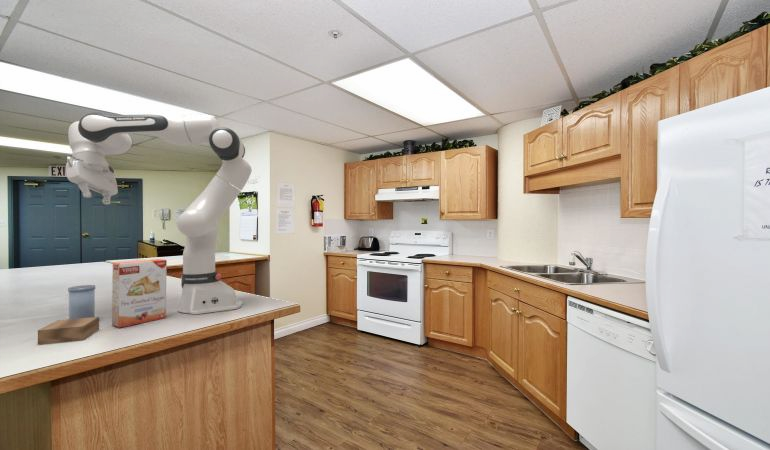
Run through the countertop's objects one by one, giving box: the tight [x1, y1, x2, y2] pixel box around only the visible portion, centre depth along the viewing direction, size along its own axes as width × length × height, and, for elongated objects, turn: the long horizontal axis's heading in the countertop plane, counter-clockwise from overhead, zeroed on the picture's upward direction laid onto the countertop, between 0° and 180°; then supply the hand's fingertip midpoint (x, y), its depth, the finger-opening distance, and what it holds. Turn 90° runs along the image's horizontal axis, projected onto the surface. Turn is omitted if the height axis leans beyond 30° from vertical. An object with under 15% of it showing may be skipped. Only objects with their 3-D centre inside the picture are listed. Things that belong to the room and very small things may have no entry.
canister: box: [67, 284, 96, 319], centre depth 110 cm, size 7×7×12 cm
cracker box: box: [111, 258, 167, 329], centre depth 111 cm, size 14×6×21 cm, turn 148°
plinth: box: [37, 316, 100, 345], centre depth 97 cm, size 10×10×4 cm
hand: (97, 200), depth 116 cm, fingers open, 8 cm apart
